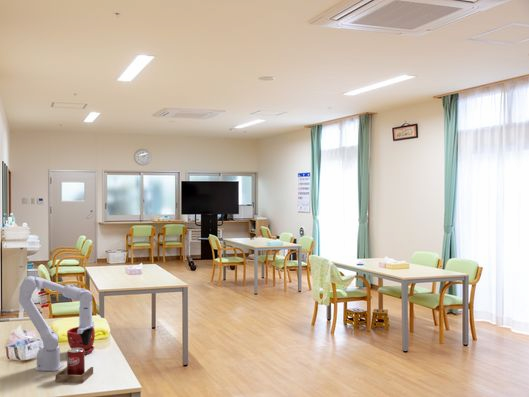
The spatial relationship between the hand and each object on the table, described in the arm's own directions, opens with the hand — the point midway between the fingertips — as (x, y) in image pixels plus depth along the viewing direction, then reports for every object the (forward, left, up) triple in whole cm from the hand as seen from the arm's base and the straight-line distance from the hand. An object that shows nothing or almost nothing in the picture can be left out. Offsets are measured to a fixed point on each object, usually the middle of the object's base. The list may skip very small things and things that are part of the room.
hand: (86, 344), depth 259 cm
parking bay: (+2, -17, -9) cm, 20 cm away
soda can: (+2, -16, -10) cm, 19 cm away
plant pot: (-10, +18, -10) cm, 23 cm away
